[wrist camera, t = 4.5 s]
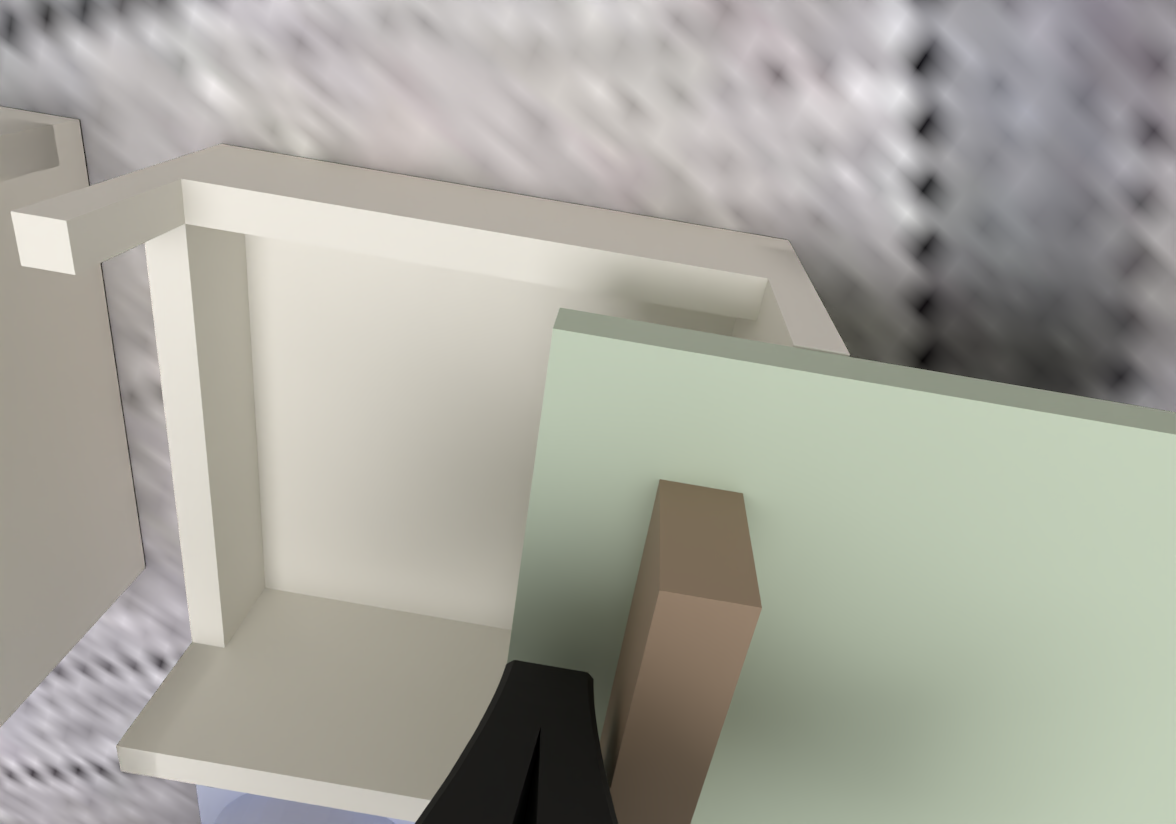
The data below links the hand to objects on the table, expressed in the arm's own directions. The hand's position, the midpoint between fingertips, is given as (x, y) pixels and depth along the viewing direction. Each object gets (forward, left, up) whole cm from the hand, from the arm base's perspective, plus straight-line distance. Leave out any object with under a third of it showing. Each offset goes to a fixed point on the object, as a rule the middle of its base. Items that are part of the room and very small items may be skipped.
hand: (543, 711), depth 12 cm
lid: (0, -5, -2) cm, 6 cm away
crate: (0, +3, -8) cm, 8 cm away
